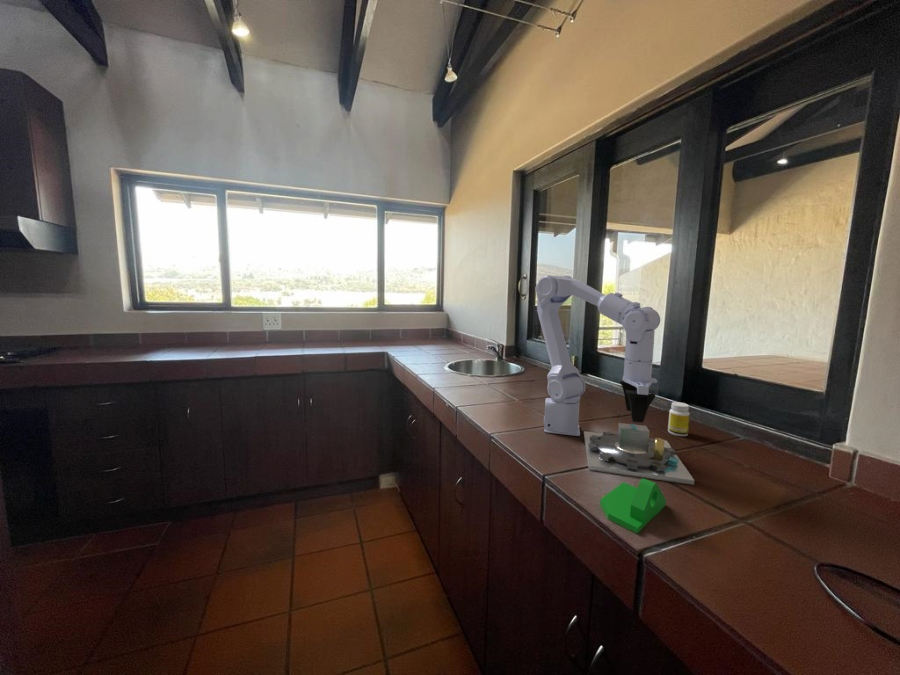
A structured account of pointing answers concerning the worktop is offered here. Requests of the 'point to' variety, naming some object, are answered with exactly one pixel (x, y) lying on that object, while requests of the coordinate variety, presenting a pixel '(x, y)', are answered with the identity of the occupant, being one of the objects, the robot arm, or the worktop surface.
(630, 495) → the bracket
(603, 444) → the sprocket
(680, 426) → the supplement bottle
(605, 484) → the worktop surface
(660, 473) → the base plate
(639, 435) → the link block
